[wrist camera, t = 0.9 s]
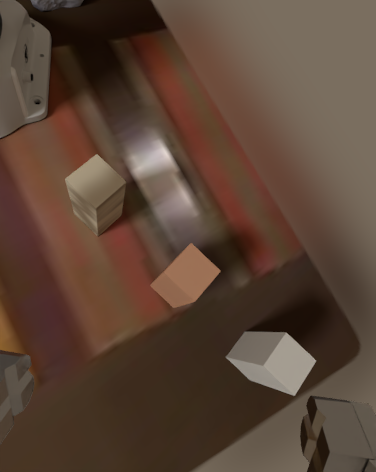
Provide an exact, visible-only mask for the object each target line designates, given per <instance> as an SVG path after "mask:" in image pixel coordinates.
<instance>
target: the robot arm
mask: <svg viewBox="0 0 376 472" xmlns="http://www.w3.org/2000/svg"><path fill="white" fill-rule="evenodd" d="M51 43H52V39H51V35H50V32H49V31H48V30H47V29H46V28H45V27H44V26H43V25H41V24H40V23H38V22H37V21H35V20H33V19H32V18H30V17H29V15H28V13H27V11H26V10H25V9H24V7H23V6H22V5H21V4H19V3H18V2H17V1H15V0H0V138H1V137H4V136H6V135H8V134H10V133H11V132H13V131H14V130H16V129H17V128H19V127H20V126H22V125H24V124H27V123H31V122H35V121H39V120H42V119H44V118H45V117H46V116H47V111H48V95H49V78H50V61H51ZM38 102H39V103H40V104H36V103H38ZM30 366H31V360H30V356H28V355H26V354H20V353H14V352H8V351H3V350H0V444H1V443H2V441H3V440H4V438H5V437H6V435H7V434H8V432H9V431H10V429H11V428H12V426H13V425H14V416H15V415H17V414H18V413H20V412H21V411H23V410H24V409H25V407H26V405H27V404H28V402H29V400H30V398H31V395H32V392H33V388H34V379H33V375H32V374H31V373H30V372H29V371H28V369H29V367H30ZM307 410H308V414H307V415H305V416H304V417H303V420H302V424H301V435H300V437H301V447H302V452H303V456H304V457H305V458H306V459H307V460H308V462H309V463H310V464H309V467H308V470H307V472H376V415H375V413H374V411H373V409H372V407H371V406H370V405H369V404H368V403H361V402H354V401H347V400H339V399H332V398H325V397H317V396H310V398H309V399H308V402H307Z"/></svg>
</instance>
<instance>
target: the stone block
mask: <svg viewBox="0 0 376 472" xmlns="http://www.w3.org/2000/svg"><path fill="white" fill-rule="evenodd" d="M83 1H84V0H31V2H32V5H33V6H34V7H35V8H37V9H39V10H40V11H49V10H54V9H58V8H60V7H78V6H80V5H81V3H82V2H83Z"/></svg>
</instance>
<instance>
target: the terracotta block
mask: <svg viewBox="0 0 376 472" xmlns="http://www.w3.org/2000/svg"><path fill="white" fill-rule="evenodd" d="M220 272H221V271H220V270H219V269H218V268H217V267H216V266H215V265H214V264H213V263H212V262H211V261H210V260H209V259H208V258H207V257H205V256H204V255H203V254H202V253H201V252H200V251H199V250H198V249H197V248H196V247H195V246H194V245H193V244H192V243H191V244H190V245H189V246H188V247H187V248H186V249H185V250H184V251H183V252H182V253H181V254H180V255H179V256H177V257H176V258H175V259H174V260H173V261H172V262H171V264H170V265H169V266H168V267H167V268H166V269H165V270H164V271H163V272H162V273H161V274H160V275H159V276H158V277H157V278H156V279H155V281H154V282H153V283H152V284H151V285H150V286H151V287H152V288H153V289H154V290H155V291H156V292H157V293H158V294H159V295H161V296H162V297H163V298H164V299H165V300H166V301H167V302H168V303H169V304H170V305H171V306H172V307H173V308H175V307H179V306H182V305H185V304H189V303H192V302H195V301H196V300H197V298H198V297H199V296H200V295H201V294H202V293H203V291H204V290H205V289H206V288H207V287H208V286H209V284H210V283H211V282H212V281H213V280H214V279H215V277H216V276H217V275H218V274H219V273H220Z"/></svg>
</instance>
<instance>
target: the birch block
mask: <svg viewBox="0 0 376 472" xmlns="http://www.w3.org/2000/svg"><path fill="white" fill-rule="evenodd" d="M65 181H66V184H67V188H68V192H69V196H70V199H71V203H72V207H73V210H74V214H75V215H76V216H77V217H78V218H79V219H80V220H81V221H82V222H83V223H84V224H85V225H86V226H88V227H89V228H90V229H91V230H92V231H93V232H94V233H95V234H96V235H97V236H99V235H100V234H101V233H103V232H104V231H105V230H106V229H107V228H108V227H109V226H110V225H111V224H112V223H114V222H115V221H116V220H117V219H118V218H119V217H120V216H121V215H122V209H123V202H124V195H125V188H126V181H125V180H124V179H123V178H122V177H121V176H119V175H118V174H117V173H116V172H115V171H114V170H113V169H112V168H111V167H110V166H109V165H108V164H107V163H106V162H105V161H104V160H103V159H102V158H100V157H99V156H98V155H97V154H96V155H95V156H94V157H93V158H91V159H90V160H89V161H87V162H86V163H85V164H84V165H82V166H81V167H80V168H79V169H77V170H76V171H75V172H73V173H72V174H71V175H70V176H68V177H67V178H66V179H65Z"/></svg>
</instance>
